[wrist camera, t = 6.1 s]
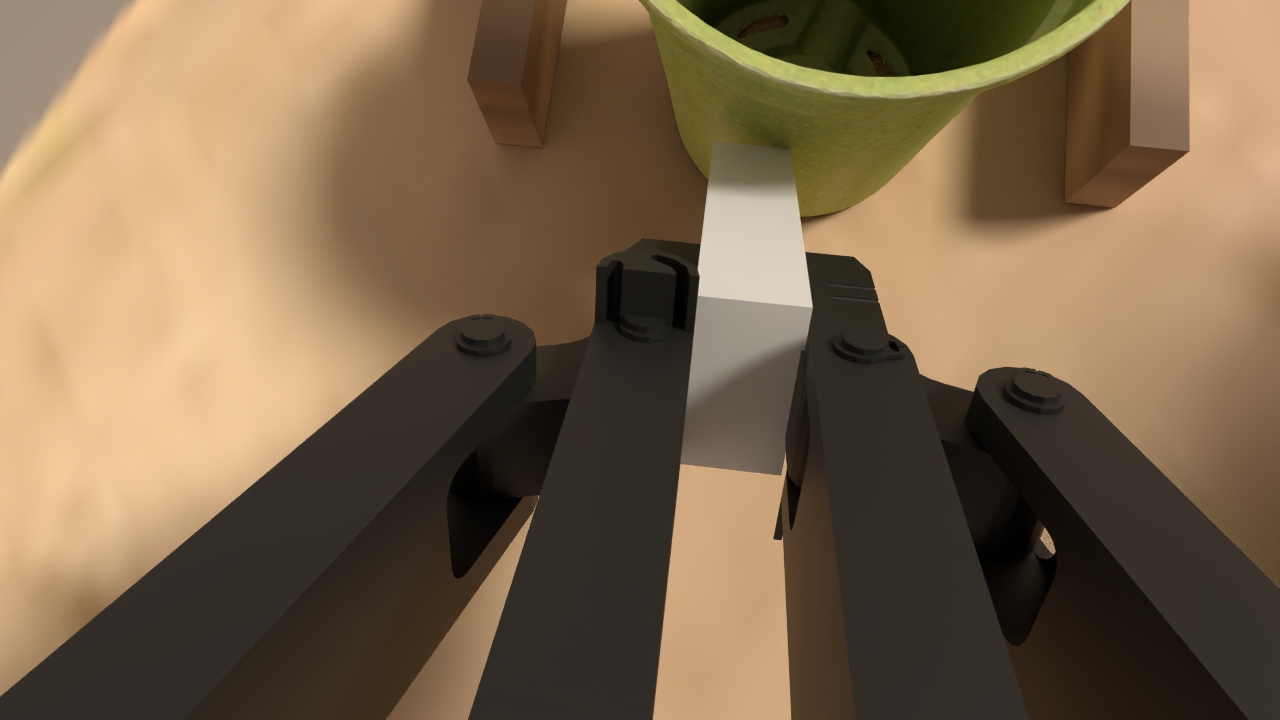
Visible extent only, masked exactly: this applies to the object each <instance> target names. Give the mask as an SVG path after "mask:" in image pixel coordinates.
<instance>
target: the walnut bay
mask: <svg viewBox="0 0 1280 720" xmlns="http://www.w3.org/2000/svg"><path fill="white" fill-rule="evenodd" d="M566 4H567V0H483V2H482V7H481V12H480V17H479V22H478V28H477V33H476V38H475V43H474V48H473V53H472V58H471V64H470V69H469V74H468V82H469V84H470V86H471V88H472V91H473V93H474V95H475V97H476V100H477V102H478V104H479V106H480V109H481V111H482V113H483V115H484V117H485V120H486V122H487V124H488V126H489V129H490V131H491V133H492V135H493V138H494V140H495V142H496V143H500V144H510V145H520V146H529V147H539V148H542V145H543V139H544V133H545V127H546V121H547V115H548V109H549V104H550V98H551V92H552V86H553V80H554V74H555V68H556V62H557V57H558V51H559V45H560V39H561V33H562V27H563V21H564V15H565V9H566ZM1188 152H1189V0H1130V1H1129V2H1128V3H1127V5H1126V6H1125V7H1124V8H1123V9H1122V10H1121V11H1120V12H1119V13H1118V14H1117V15H1116V16H1114V17H1113V18H1112V19H1111V20H1110V21H1109V22H1108V23H1107V24H1105V25H1104V26H1103V27H1102V28H1101V29H1100V30H1099V31H1097V32H1096V33H1095V34H1094V35H1092V36H1091V37H1089V38H1088V39H1086V40H1085V41H1084V42H1082V43H1081V44H1079V45H1078V46H1076V47H1075V48H1074V49H1072V50H1071V51H1069V58H1068V94H1067V131H1066V167H1065V203H1074V204H1084V205H1093V206H1103V207H1112V208H1115V207H1117V206H1118V205H1119V204H1121V203H1122V202H1123V201H1125V200H1126V199H1127V198H1129V197H1130V196H1131V195H1132V194H1134V193H1135V192H1136V191H1138V190H1139V189H1140V188H1142V187H1143V186H1144V185H1146V184H1147V183H1148V182H1150V181H1151V180H1152V179H1154V178H1155V177H1156V176H1158V175H1159V174H1160V173H1161V172H1163V171H1164V170H1165V169H1167V168H1168V167H1169V166H1171V165H1172V164H1173V163H1175V162H1176V161H1177V160H1179V159H1180V158H1181V157H1183V156H1184V155H1185V154H1186V153H1188Z"/></svg>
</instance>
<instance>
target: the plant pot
mask: <svg viewBox="0 0 1280 720" xmlns="http://www.w3.org/2000/svg"><path fill="white" fill-rule="evenodd" d="M639 1H640V2H641V3H642V5H643V6H644V7H645V8H646V9H647V11H648V13H649V15H650V19H651V23H652V26H653V30H654V34H655V37H656V41H657V45H658V49H659V53H660V56H661V60H662V64H663V67H664V71H665V75H666V79H667V83H668V87H669V92H670V96H671V101H672V105H673V110H674V114H675V118H676V122H677V127H678V130H679V134H680V137H681V139H682V142H683V144H684V146H685V148H686V150H687V152H688V154H689V156H690V157H691V159H692V160H693V162H694V163H695V165H696V166H697V168H698V169H699V170H700V172H701V173H702V174H703V175H704V176H705V177H706V178H707V179H708V180H709V173H710V165H711V157H712V149H713V141H716V142H727V143H739V144H750V145H761V146H772V147H780V148H786V149H791V155H792V162H793V169H794V176H795V184H796V191H797V198H798V205H799V212H800V217H803V216H817V215H824V214H829V213H832V212H836V211H840V210H843V209H845V208H848V207H850V206H852V205H855V204H857V203H859V202H861V201H863V200H864V199H866V198H867V197H869V196H871V195H872V194H874V193H875V192H877V191H878V190H879V189H880V188H882V187H883V186H884V185H885V184H886V183H888V182H889V181H890V180H891V179H892V178H893V177H894V176H895V175H896V174H897V173H898V172H899V171H900V170H901V169H903V168H904V167H905V166H906V165H907V164H908V163H909V162H910V161H911V160H912V159H913V158H914V156H915V155H916V154H917V153H918V152H919V151H920V150H921V149H922V148H923V147H924V146H925V145H926V144H927V143H928V142H929V141H930V140H931V139H932V138H933V137H934V136H935V135H936V134H938V133H939V132H940V131H941V130H942V129H943V128H944V127H945V126H946V125H947V124H948V123H949V122H950V121H951V120H952V119H953V118H954V117H955V116H957V115H958V114H959V113H960V112H961V111H962V110H963V109H964V108H965V107H966V106H967V105H968V104H969V103H970V102H971V101H972V100H973V99H974V98H975V97H977V96H978V95H979V94H980V93H982V92H985V91H988V90H991V89H994V88H997V87H1000V86H1002V85H1005V84H1008V83H1010V82H1012V81H1014V80H1017V79H1019V78H1021V77H1024V76H1026V75H1028V74H1030V73H1032V72H1034V71H1036V70H1039V69H1040V68H1042V67H1044V66H1046V65H1047V64H1049V63H1051V62H1053V61H1055V60H1056V59H1058V58H1060V57H1062V56H1064V55H1065V54H1066V53H1068V52H1069V51H1071V50H1072V49H1074V48H1075V47H1076V46H1078V45H1079V44H1081V43H1082V42H1084V41H1085V40H1086V39H1088V38H1089V37H1091V36H1092V35H1094V34H1095V33H1096V32H1097V31H1099V30H1100V29H1101V28H1102V27H1103V26H1104V25H1105V24H1107V23H1108V22H1109V21H1110V20H1111V19H1112V18H1113V17H1114V16H1116V15H1117V14H1118V13H1119V12H1120V11H1121V10H1122V9H1123V8H1124V7H1125V6H1126V5H1127V3H1128V2H1129V1H1130V0H639ZM773 16H780V17H787V18H788V21H789V23H788V24H787V25H786V26H784V27H777V28H774V29H769V30H764V31H761V32H757V33H755V34H753V35H751V34H747V35H746V37H744V38H740V37H739V36H738V35H740V33H741V31H742V30H743V29H744V28H746V27H747V26H748V25H750V24H752V23H753V22H755V21H758V20H760V19H763V18H767V17H773ZM868 51H873V52H877V53H878V54H880V55H881V56H882V58H883V59H884V60H885V62H886V64H887V65H888V67H889V69H890V71H891V73H892V75H893V77H880V76H879V73H878V71H877V69H876V67H875V66H874V63H873V62H872V61H871V59H870V57H869V55H868V54H867V53H868Z"/></svg>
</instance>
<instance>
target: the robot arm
mask: <svg viewBox="0 0 1280 720" xmlns="http://www.w3.org/2000/svg"><path fill="white" fill-rule="evenodd" d="M874 288H875V286H874V283H873V279H872V276H871V272H870V271H869V270H868V269H867V268H866V267H865V266H863V265H862V264H861V263H860V262H859V261H858V260H857V259H856V258H854V257H850V256H839V255H829V254H819V253H809V252H805V248H804V241H803V234H802V227H801V219H800V212H799V205H798V198H797V191H796V184H795V176H794V169H793V162H792V155H791V149H786V148H780V147H772V146H761V145H750V144H739V143H727V142H716V141H713V149H712V157H711V165H710V173H709V181H708V190H707V198H706V206H705V214H704V223H703V231H702V239H701V244H693V243H683V242H673V241H662V240H652V239H642V240H640V241H639V242H637V243H636V244H634V245H633V246H632V247H630V248H629V249H627V251H624V252H618V253H615V254H612V255H610V256H608V257H606V258H603V260H602V261H601V262H600V263H599V264H598V265H597V270H596V301H595V324H594V327H593V330H592V333H591V336H589V337H587V338H585V339H582V340H579V341H575V342H572V343H567V344H559V345H549V346H536V340H535V336H534V332H533V331H532V330H531V329H530V328H528V327H527V326H526V325H525V324H524V323H522V322H519V321H516V320H513V319H511V318H508V317H500V316H495V315H484V314H483V316H480V315H472V316H469V317H466V318H462V319H458V320H455V321H451V322H450V323H448V324H446V325H444V326H443V327H441V328H439V329H438V330H436V331H435V332H434V333H433V334H432V335H430V336H429V337H428V338H427V339H426V340H424V341H423V342H422V343H421V344H420V345H419V346H417V347H416V348H415V349H414V350H413V351H411V352H410V353H409V354H408V355H407V356H405V357H404V358H403V359H402V360H401V361H399V362H398V363H397V364H396V365H395V366H394V367H392V368H391V369H390V370H389V371H388V372H386V373H385V374H384V375H383V376H382V377H380V378H379V379H378V380H377V381H376V382H374V383H373V384H372V385H371V386H370V387H369V388H367V389H366V390H365V391H364V392H363V393H361V394H360V395H359V396H358V397H357V398H355V399H354V400H353V401H352V402H351V403H349V404H348V405H347V406H346V407H345V408H344V409H342V410H341V411H340V412H339V413H338V414H336V415H335V416H334V417H333V418H332V419H330V420H329V421H328V422H327V423H326V424H324V425H323V426H322V427H321V428H320V429H319V430H317V431H316V432H315V433H314V434H313V435H311V436H310V437H309V438H308V439H307V440H305V441H304V442H303V443H302V444H301V445H299V446H298V447H297V448H296V449H295V450H294V451H292V452H291V453H290V454H289V455H288V456H286V457H285V458H284V459H283V460H282V461H280V462H279V463H278V464H277V465H276V466H274V467H273V468H272V469H271V470H270V471H269V472H267V473H266V474H265V475H264V476H263V477H261V478H260V479H259V480H258V481H257V482H255V483H254V484H253V485H252V486H251V487H249V488H248V489H247V490H246V491H245V492H244V493H242V494H241V495H240V496H239V497H238V498H236V499H235V500H234V501H233V502H232V503H230V504H229V505H228V506H227V507H226V508H224V509H223V510H222V511H221V512H220V513H219V514H217V515H216V516H215V517H214V518H213V519H211V520H210V521H209V522H208V523H207V524H205V525H204V526H203V527H202V528H201V529H199V530H198V531H197V532H196V533H195V534H194V535H192V536H191V537H190V538H189V539H188V540H186V541H185V542H184V543H183V544H182V545H180V546H179V547H178V548H177V549H176V550H174V551H173V552H172V553H171V554H170V555H169V556H167V557H166V558H165V559H164V560H163V561H161V562H160V563H159V564H158V565H157V566H155V567H154V568H153V569H152V570H151V571H149V572H148V573H147V574H146V575H145V576H144V577H142V578H141V579H140V580H139V581H138V582H136V583H135V584H134V585H133V586H132V587H130V588H129V589H128V590H127V591H126V592H124V593H123V594H122V595H121V596H120V597H119V598H117V599H116V600H115V601H114V602H113V603H111V604H110V605H109V606H108V607H107V608H105V609H104V610H103V611H102V612H101V613H99V614H98V615H97V616H96V617H95V618H94V619H92V620H91V621H90V622H89V623H88V624H86V625H85V626H84V627H83V628H82V629H80V630H79V631H78V632H77V633H76V634H74V635H73V636H72V637H71V638H70V639H69V640H67V641H66V642H65V643H64V644H63V645H61V646H60V647H59V648H58V649H57V650H55V651H54V652H53V653H52V654H51V655H49V656H48V657H47V658H46V659H45V660H44V661H42V662H41V663H40V664H39V665H38V666H36V667H35V668H34V669H33V670H32V671H30V672H29V673H28V674H27V675H26V676H24V677H23V678H22V679H21V680H20V681H19V682H17V683H16V684H15V685H14V686H13V687H11V688H10V689H9V690H8V691H7V692H5V693H4V694H3V695H2V696H1V697H0V720H386V718H387V717H388V716H389V714H390V713H391V711H392V710H393V709H394V707H395V706H396V704H397V703H398V702H399V700H400V699H401V697H402V696H403V694H404V693H405V692H406V690H407V689H408V687H409V686H410V685H411V683H412V682H413V680H414V679H415V678H416V676H417V675H418V673H419V672H420V670H421V669H422V668H423V666H424V665H425V663H426V662H427V661H428V659H429V658H430V656H431V655H432V654H433V652H434V651H435V649H436V648H437V646H438V645H439V644H440V642H441V641H442V639H443V638H444V637H445V635H446V634H447V632H448V631H449V629H450V628H451V627H452V625H453V624H454V622H455V621H456V620H457V618H458V617H459V615H460V614H461V613H462V611H463V610H464V608H465V607H466V605H467V604H468V603H469V601H470V600H471V598H472V597H473V596H474V594H475V593H476V591H477V590H478V589H479V587H480V586H481V584H482V583H483V581H484V580H485V579H486V577H487V576H488V574H489V573H490V572H491V570H492V569H493V567H494V566H495V565H496V563H497V562H498V560H499V559H500V557H501V556H502V555H503V553H504V552H505V550H506V549H507V548H508V546H509V545H510V543H511V542H512V541H513V539H514V538H515V536H516V535H517V533H518V532H519V531H520V529H521V528H522V526H523V525H524V524H525V522H526V521H527V519H528V518H529V517H530V515H531V514H532V512H533V511H534V508H535V505H536V503H537V505H536V508H535V512H534V515H533V518H532V521H531V524H530V527H529V530H528V533H527V537H526V540H525V543H524V546H523V549H522V552H521V555H520V559H519V562H518V565H517V568H516V571H515V574H514V577H513V580H512V584H511V587H510V590H509V593H508V596H507V599H506V602H505V605H504V609H503V612H502V615H501V618H500V621H499V624H498V627H497V631H496V634H495V637H494V640H493V643H492V646H491V649H490V652H489V656H488V659H487V662H486V665H485V668H484V671H483V674H482V678H481V681H480V684H479V687H478V690H477V693H476V696H475V699H474V703H473V706H472V709H471V712H470V715H469V718H468V720H653V713H654V703H655V694H656V685H657V675H658V666H659V657H660V648H661V638H662V629H663V620H664V610H665V601H666V592H667V582H668V573H669V564H670V555H671V545H672V536H673V527H674V517H675V508H676V499H677V489H678V480H679V470H680V464H686V465H695V466H704V467H712V468H721V469H729V470H738V471H747V472H756V473H764V474H773V475H781V473H782V468H783V463H784V457H785V452H786V461H787V471H786V476H785V482H784V487H783V492H782V497H781V502H780V508H779V513H778V518H777V523H776V528H775V534H774V539H775V540H782V537H783V546H784V568H785V589H786V611H787V633H788V655H789V677H790V698H791V720H1280V589H1279V588H1278V587H1277V586H1276V585H1275V584H1274V583H1273V582H1272V581H1271V580H1270V579H1269V578H1268V577H1267V576H1266V575H1265V574H1264V573H1263V572H1262V571H1261V570H1260V569H1259V568H1258V567H1257V566H1256V565H1255V564H1254V563H1253V562H1252V561H1251V560H1250V559H1249V558H1248V557H1247V556H1246V555H1245V554H1244V553H1243V552H1242V551H1241V550H1240V549H1239V548H1238V547H1237V546H1236V545H1235V544H1233V543H1232V542H1231V541H1230V540H1229V539H1228V538H1227V537H1226V536H1225V535H1224V534H1223V533H1222V532H1221V531H1220V530H1219V529H1218V528H1217V527H1216V526H1215V525H1214V524H1213V523H1212V522H1211V521H1210V520H1209V519H1208V518H1207V517H1206V516H1205V515H1204V514H1203V513H1202V512H1201V511H1200V510H1199V509H1198V508H1197V507H1196V506H1195V505H1194V504H1193V503H1192V502H1191V501H1190V500H1189V499H1188V498H1187V497H1186V496H1185V495H1184V494H1183V493H1182V492H1181V491H1180V490H1179V489H1178V488H1177V487H1176V486H1175V485H1174V484H1173V483H1172V482H1171V481H1170V480H1169V479H1168V478H1167V477H1166V476H1165V475H1164V474H1163V473H1162V472H1161V471H1160V470H1159V469H1158V468H1157V467H1156V466H1155V465H1154V464H1153V463H1152V462H1151V461H1150V460H1149V459H1148V458H1147V457H1146V456H1145V455H1144V454H1143V453H1142V452H1141V451H1140V450H1139V449H1138V448H1137V447H1135V446H1134V445H1133V444H1132V443H1131V442H1130V441H1129V440H1128V439H1127V438H1126V437H1125V436H1124V435H1123V434H1122V433H1121V432H1120V431H1119V430H1118V429H1117V428H1116V427H1115V426H1114V425H1113V424H1112V423H1111V422H1110V421H1109V420H1108V419H1107V418H1106V417H1105V416H1104V415H1103V414H1102V413H1101V412H1100V411H1099V410H1098V409H1097V408H1096V407H1095V406H1094V405H1093V404H1092V403H1091V402H1090V401H1089V400H1088V399H1087V398H1086V397H1085V396H1084V395H1083V394H1082V393H1080V392H1079V391H1077V390H1076V389H1075V388H1073V387H1072V386H1071V385H1069V384H1068V383H1066V382H1064V381H1062V380H1059V379H1057V378H1055V377H1053V376H1052V375H1051V374H1049V373H1046V372H1043V371H1039V370H1038V371H1036V369H1030V368H1014V367H1002V368H995V369H989V370H988V371H986V372H985V373H983V374H981V375H980V376H979V378H978V381H977V384H976V387H975V390H974V392H972V391H968V390H965V389H961V388H958V387H954V386H950V385H947V384H944V383H941V382H938V381H935V380H932V379H929V378H927V377H925V376H923V375H921V374H919V371H918V368H917V365H916V362H915V358H914V355H913V354H912V352H911V351H910V349H909V348H908V347H907V345H906V344H904V343H903V342H901V341H900V340H898V339H897V338H896V337H894V336H892V335H890V334H888V332H887V328H886V325H885V321H884V318H883V314H882V311H881V307H880V304H879V303H878V297H877V293H876V290H874ZM538 495H540V496H539V499H538ZM537 500H538V502H537ZM1044 528H1046V529H1047V531H1048V533H1049V535H1050V536H1051V538H1052V540H1053V543H1054V546H1055V550H1056V552H1055V554H1054V555H1053V554H1052V553H1051V552H1050V551H1049V550H1048V549H1047V548H1046V546H1045V545H1044V544H1043V542H1042V541H1041V540H1040V537H1041V535H1042V532H1043V530H1044Z"/></svg>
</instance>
